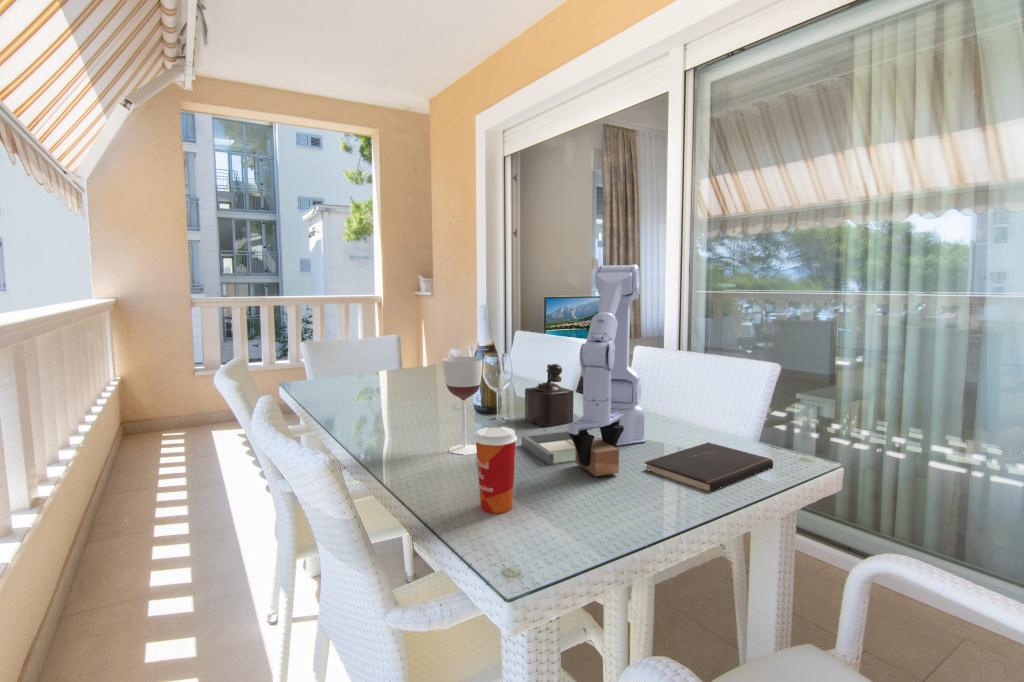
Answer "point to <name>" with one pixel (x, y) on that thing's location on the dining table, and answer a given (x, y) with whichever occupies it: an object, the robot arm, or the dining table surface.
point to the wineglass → (463, 389)
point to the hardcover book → (709, 465)
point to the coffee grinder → (549, 401)
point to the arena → (551, 447)
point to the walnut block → (601, 458)
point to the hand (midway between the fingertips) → (596, 461)
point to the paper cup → (496, 468)
